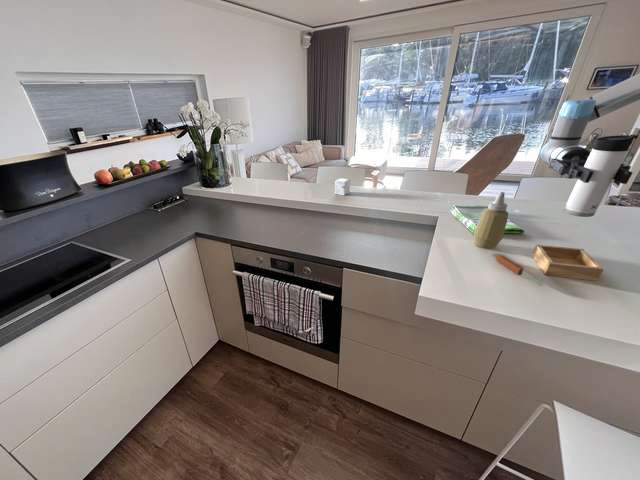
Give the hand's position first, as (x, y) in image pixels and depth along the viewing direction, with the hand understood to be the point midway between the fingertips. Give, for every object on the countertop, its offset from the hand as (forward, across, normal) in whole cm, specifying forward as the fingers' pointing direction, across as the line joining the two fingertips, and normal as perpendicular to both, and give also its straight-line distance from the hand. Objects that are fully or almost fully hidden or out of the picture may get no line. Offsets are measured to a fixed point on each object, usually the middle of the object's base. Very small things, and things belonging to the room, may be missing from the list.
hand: (607, 177), depth 70 cm
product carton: (-58, +78, -25) cm, 100 cm away
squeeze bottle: (-8, +18, -25) cm, 32 cm away
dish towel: (-30, +16, -25) cm, 42 cm away
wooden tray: (+1, +1, -25) cm, 25 cm away
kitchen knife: (+9, +13, -25) cm, 30 cm away
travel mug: (-5, 0, -11) cm, 12 cm away
